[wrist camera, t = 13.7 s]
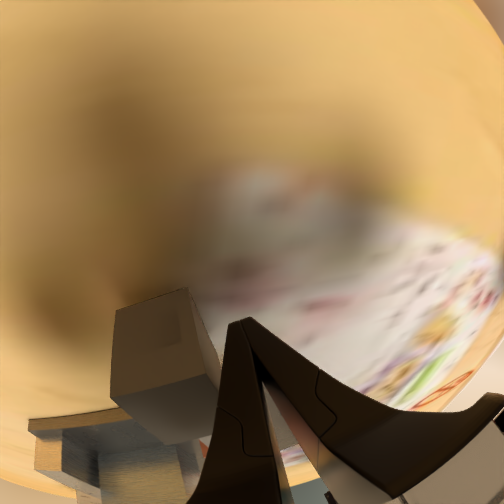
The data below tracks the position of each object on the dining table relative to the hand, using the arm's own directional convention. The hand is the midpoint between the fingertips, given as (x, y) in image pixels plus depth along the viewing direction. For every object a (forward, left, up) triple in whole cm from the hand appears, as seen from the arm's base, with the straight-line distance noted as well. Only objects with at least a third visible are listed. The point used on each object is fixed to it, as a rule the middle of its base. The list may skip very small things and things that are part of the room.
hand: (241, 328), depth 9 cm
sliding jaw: (-10, +3, -2) cm, 10 cm away
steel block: (-14, +11, -2) cm, 18 cm away
